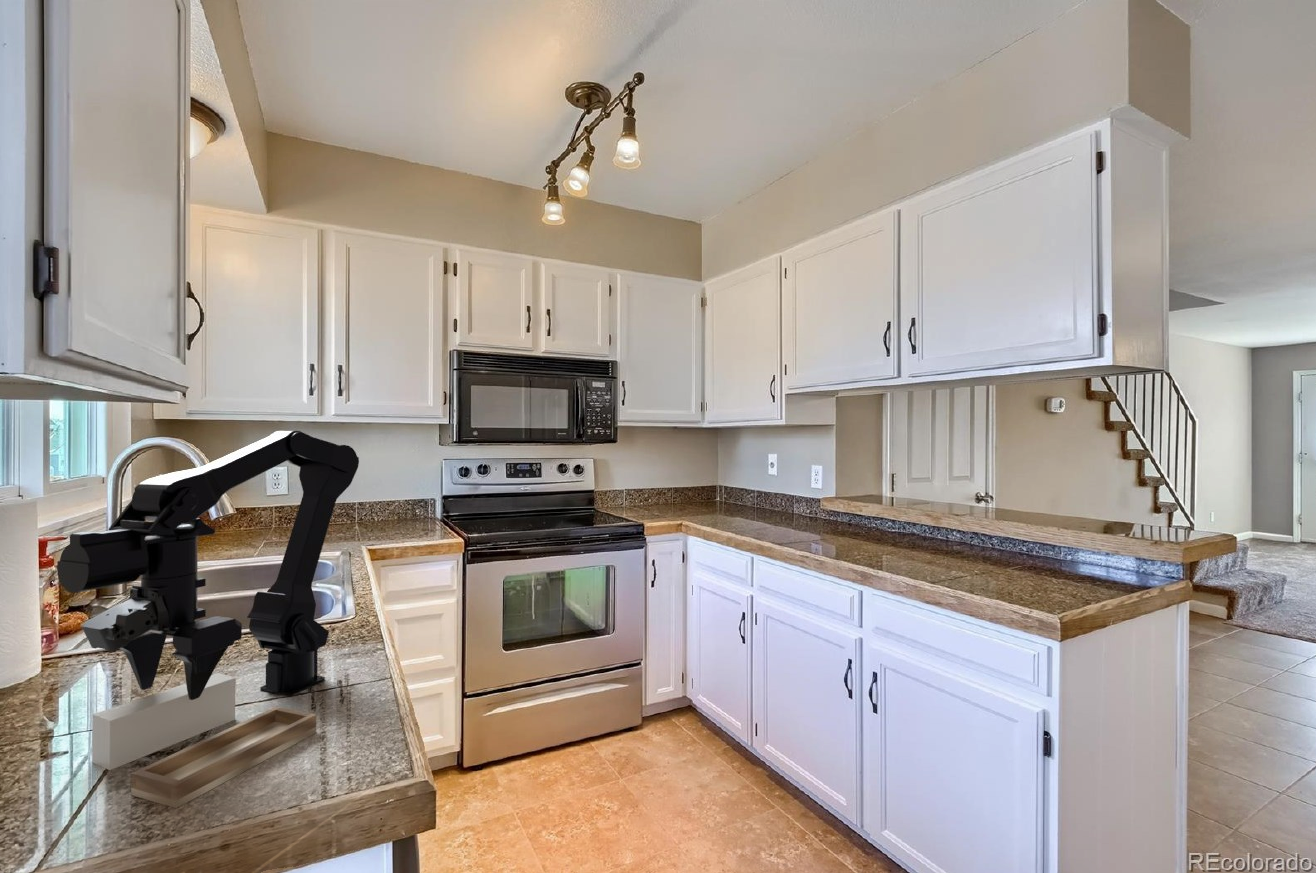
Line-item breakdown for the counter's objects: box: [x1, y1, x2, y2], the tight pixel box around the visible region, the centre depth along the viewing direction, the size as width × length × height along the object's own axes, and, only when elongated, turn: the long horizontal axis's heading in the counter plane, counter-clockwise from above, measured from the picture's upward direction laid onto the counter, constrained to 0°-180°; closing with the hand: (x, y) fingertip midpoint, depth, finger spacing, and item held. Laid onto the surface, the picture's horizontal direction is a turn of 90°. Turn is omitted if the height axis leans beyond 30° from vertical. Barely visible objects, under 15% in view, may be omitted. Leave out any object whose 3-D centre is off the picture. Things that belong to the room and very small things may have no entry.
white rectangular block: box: [91, 672, 236, 771], centre depth 78 cm, size 14×4×6 cm, turn 155°
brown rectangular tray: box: [130, 706, 317, 809], centre depth 73 cm, size 17×7×2 cm, turn 161°
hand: (169, 693), depth 78 cm, fingers open, 9 cm apart
